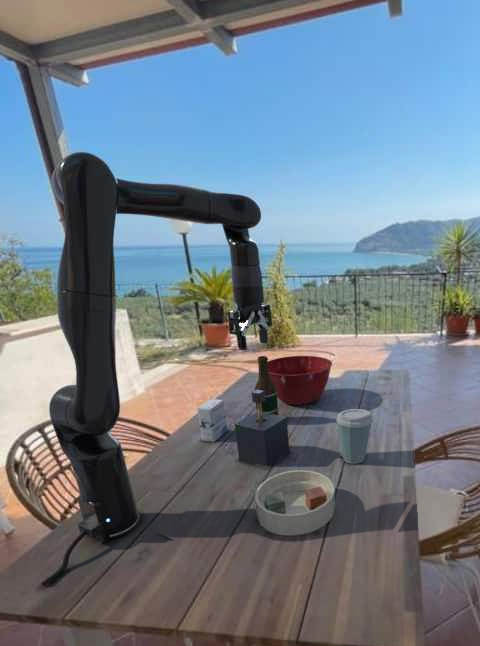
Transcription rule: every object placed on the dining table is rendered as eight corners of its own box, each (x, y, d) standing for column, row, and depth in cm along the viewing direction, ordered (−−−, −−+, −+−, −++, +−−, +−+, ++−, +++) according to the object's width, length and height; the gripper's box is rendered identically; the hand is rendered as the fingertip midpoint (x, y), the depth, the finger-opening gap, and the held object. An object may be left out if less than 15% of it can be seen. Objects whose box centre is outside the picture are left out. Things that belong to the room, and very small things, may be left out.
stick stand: (267, 469, 111) (264, 431, 107) (239, 460, 115) (234, 424, 111) (289, 452, 120) (286, 417, 116) (262, 445, 124) (258, 411, 120)
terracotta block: (310, 513, 91) (309, 499, 90) (305, 504, 94) (304, 490, 93) (326, 509, 93) (326, 495, 91) (321, 499, 96) (320, 486, 94)
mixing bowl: (253, 410, 151) (249, 372, 146) (278, 386, 178) (275, 353, 172) (324, 414, 148) (323, 375, 142) (338, 389, 174) (338, 356, 168)
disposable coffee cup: (329, 458, 117) (328, 412, 111) (355, 446, 124) (354, 402, 118) (354, 471, 110) (354, 423, 104) (379, 458, 117) (380, 412, 111)
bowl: (308, 548, 81) (306, 525, 79) (240, 523, 89) (237, 501, 87) (348, 501, 97) (347, 480, 95) (287, 483, 104) (286, 464, 102)
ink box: (215, 429, 135) (210, 398, 131) (228, 431, 134) (224, 399, 130) (201, 440, 127) (195, 407, 123) (215, 442, 126) (210, 409, 122)
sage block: (268, 519, 89) (267, 505, 87) (266, 509, 92) (264, 495, 91) (286, 515, 90) (285, 501, 89) (282, 505, 94) (281, 491, 92)
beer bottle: (253, 423, 140) (246, 358, 132) (264, 415, 147) (258, 353, 138) (272, 426, 138) (266, 360, 129) (282, 417, 145) (278, 355, 136)
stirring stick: (265, 459, 116) (258, 393, 108) (258, 457, 117) (251, 392, 109) (270, 455, 118) (264, 390, 111) (263, 453, 119) (257, 389, 112)
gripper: (254, 281, 107) (259, 339, 113) (215, 285, 95) (224, 350, 101) (276, 282, 104) (281, 342, 110) (239, 287, 92) (246, 353, 98)
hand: (253, 346), depth 105 cm, fingers open, 8 cm apart
